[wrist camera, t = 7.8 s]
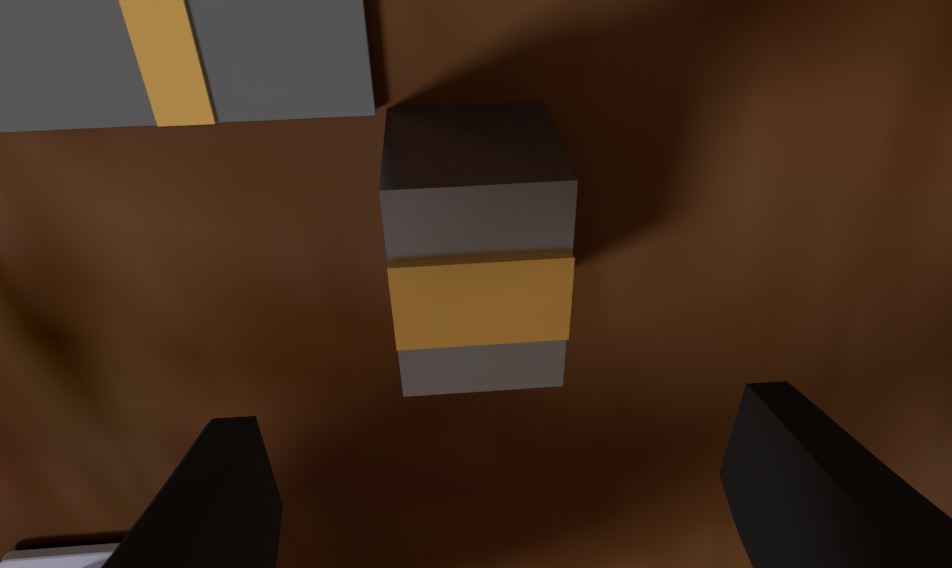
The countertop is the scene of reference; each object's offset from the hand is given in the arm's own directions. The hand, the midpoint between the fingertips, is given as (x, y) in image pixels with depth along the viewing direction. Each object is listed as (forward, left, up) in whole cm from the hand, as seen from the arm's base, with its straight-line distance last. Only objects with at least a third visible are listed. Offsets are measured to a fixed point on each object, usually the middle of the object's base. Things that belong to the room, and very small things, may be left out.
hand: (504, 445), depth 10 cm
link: (0, 0, -8) cm, 8 cm away
